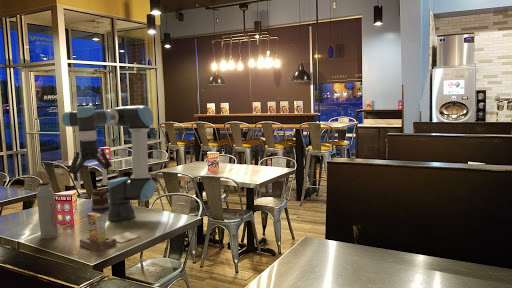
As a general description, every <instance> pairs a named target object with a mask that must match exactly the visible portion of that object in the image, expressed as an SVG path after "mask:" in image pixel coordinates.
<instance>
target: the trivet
mask: <svg viewBox="0 0 512 288" xmlns="http://www.w3.org/2000/svg"><path fill="white" fill-rule="evenodd" d="M110 237H111V238H115V239H116V243H119V244H123V243H126V242H130V241H133V240H135V239H138V238H140V237H141V235H140V234H136V233H132V232H129V231H126V232H124V233H121V234H117V235H114V236H110Z"/></svg>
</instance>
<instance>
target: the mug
mask: <svg viewBox="0 0 512 288" xmlns="http://www.w3.org/2000/svg"><path fill="white" fill-rule="evenodd" d="M91 192H92V193H91V196H90V198H91V199H92V204H91V206H90V207H91V209H92V210H93V211H102V210H107V209H109V208H110V201H109V192H108V188H99V189H98V188H96V189H93V190H92V191H91Z"/></svg>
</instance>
